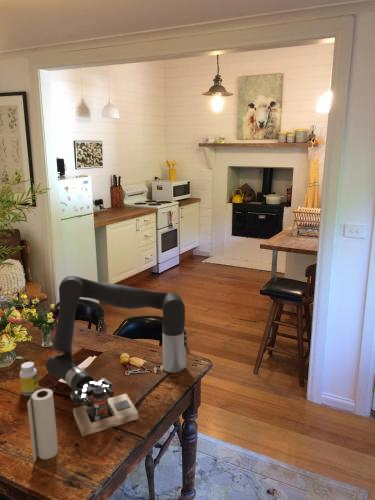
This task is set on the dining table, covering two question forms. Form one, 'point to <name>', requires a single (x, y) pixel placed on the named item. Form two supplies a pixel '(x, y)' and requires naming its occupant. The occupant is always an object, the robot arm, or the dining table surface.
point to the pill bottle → (28, 378)
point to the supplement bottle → (99, 404)
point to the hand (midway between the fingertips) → (101, 399)
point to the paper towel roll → (42, 424)
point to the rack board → (120, 413)
